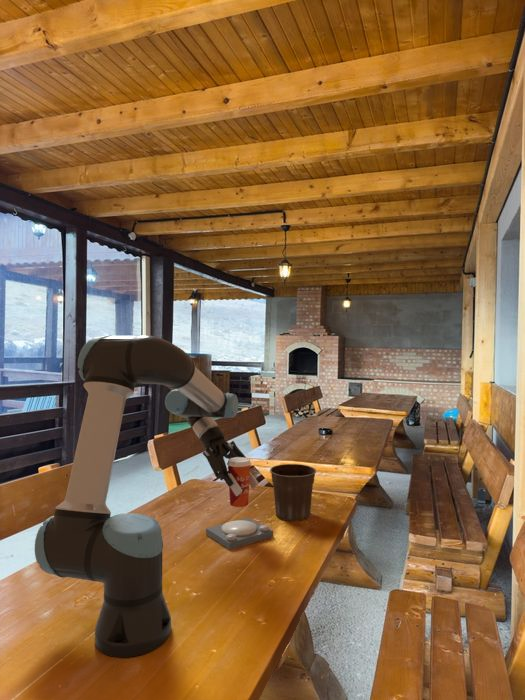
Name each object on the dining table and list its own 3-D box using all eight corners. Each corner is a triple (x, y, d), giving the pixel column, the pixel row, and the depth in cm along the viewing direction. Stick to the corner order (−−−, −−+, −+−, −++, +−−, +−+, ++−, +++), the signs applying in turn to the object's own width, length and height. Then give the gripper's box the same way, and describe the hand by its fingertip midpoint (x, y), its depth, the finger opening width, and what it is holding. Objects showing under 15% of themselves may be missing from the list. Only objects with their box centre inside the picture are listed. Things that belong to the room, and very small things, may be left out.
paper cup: (240, 510, 142) (240, 463, 142) (221, 504, 147) (221, 460, 147) (256, 503, 148) (256, 458, 148) (238, 498, 153) (237, 455, 153)
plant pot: (318, 524, 157) (318, 475, 157) (270, 524, 157) (269, 475, 157) (314, 507, 173) (313, 463, 173) (270, 507, 173) (270, 463, 173)
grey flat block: (229, 549, 137) (229, 539, 137) (206, 534, 148) (206, 525, 148) (273, 536, 146) (273, 527, 146) (248, 523, 158) (248, 514, 158)
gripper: (223, 434, 165) (260, 488, 155) (180, 445, 148) (219, 506, 139) (234, 421, 162) (273, 475, 152) (192, 430, 145) (233, 491, 135)
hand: (247, 489), depth 145 cm, fingers closed on paper cup, 8 cm apart
